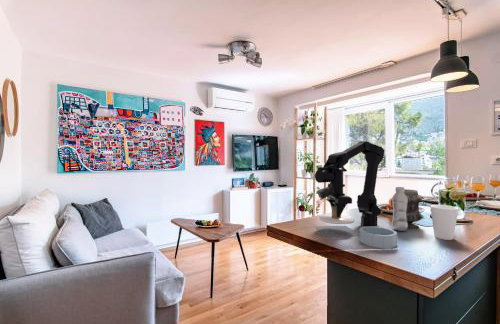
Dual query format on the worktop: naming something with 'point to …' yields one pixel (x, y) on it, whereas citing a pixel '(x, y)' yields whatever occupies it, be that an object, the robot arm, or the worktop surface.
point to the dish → (378, 237)
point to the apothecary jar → (413, 208)
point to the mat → (336, 231)
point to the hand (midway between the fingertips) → (336, 216)
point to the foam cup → (444, 221)
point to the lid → (336, 218)
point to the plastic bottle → (399, 210)
